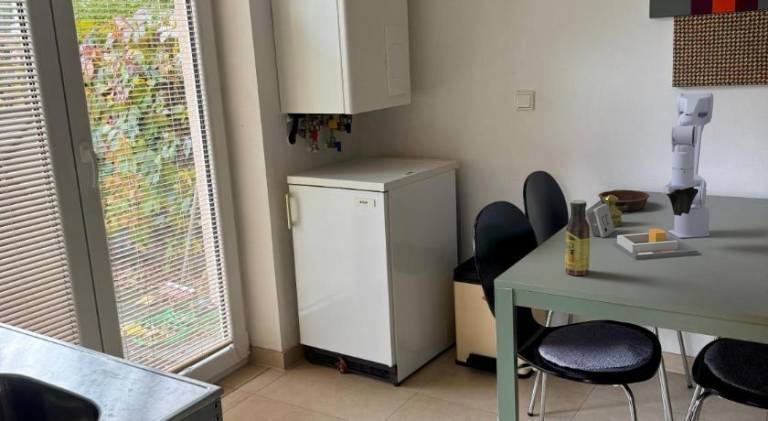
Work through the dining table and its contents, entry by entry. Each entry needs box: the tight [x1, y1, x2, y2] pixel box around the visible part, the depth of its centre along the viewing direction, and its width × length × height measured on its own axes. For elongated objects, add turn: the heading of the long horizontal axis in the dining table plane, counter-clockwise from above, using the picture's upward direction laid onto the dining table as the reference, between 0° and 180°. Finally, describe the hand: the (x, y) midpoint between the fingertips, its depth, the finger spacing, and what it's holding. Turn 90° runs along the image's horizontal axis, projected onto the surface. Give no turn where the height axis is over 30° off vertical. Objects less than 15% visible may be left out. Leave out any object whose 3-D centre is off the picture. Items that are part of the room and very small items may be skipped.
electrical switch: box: [586, 204, 615, 239], centre depth 226 cm, size 9×5×9 cm, turn 141°
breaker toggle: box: [648, 228, 667, 243], centre depth 207 cm, size 3×4×4 cm, turn 5°
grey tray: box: [612, 232, 699, 261], centre depth 208 cm, size 18×16×4 cm
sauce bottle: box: [564, 199, 591, 276], centre depth 189 cm, size 6×6×20 cm
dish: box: [598, 189, 650, 213], centre depth 259 cm, size 17×22×5 cm
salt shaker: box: [603, 195, 623, 228], centre depth 236 cm, size 7×8×10 cm
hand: (681, 214), depth 206 cm, fingers open, 3 cm apart
